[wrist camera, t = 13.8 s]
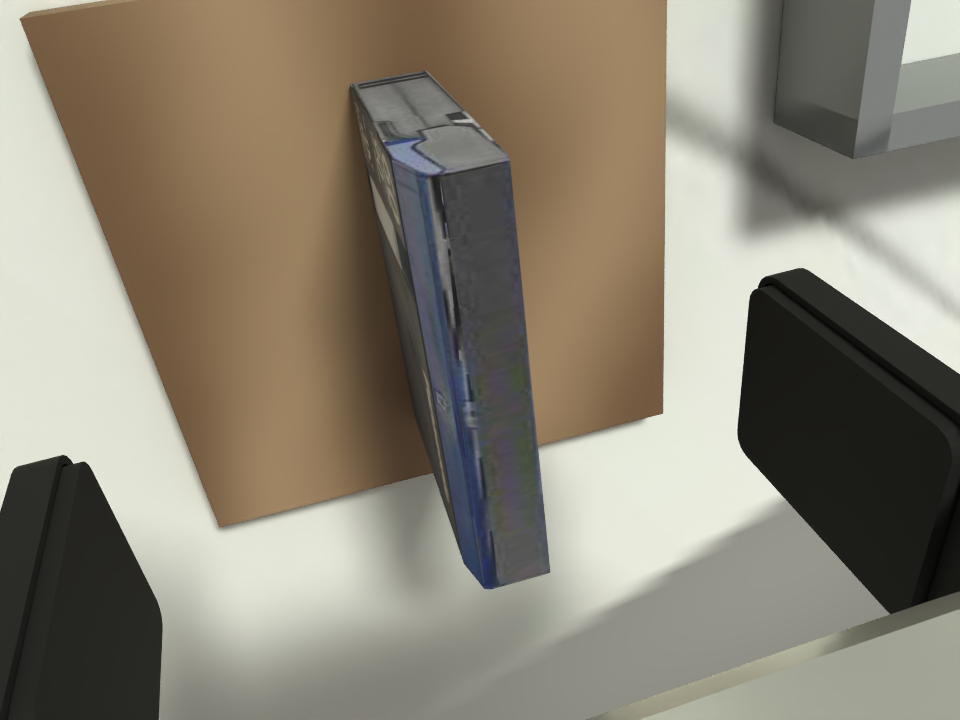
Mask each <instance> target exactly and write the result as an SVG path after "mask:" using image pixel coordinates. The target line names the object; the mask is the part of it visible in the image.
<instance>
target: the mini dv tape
mask: <svg viewBox="0 0 960 720" xmlns="http://www.w3.org/2000/svg"><path fill="white" fill-rule="evenodd" d="M350 89H351V94H352V99H353V104H354V109H355V115H356V120H357V125H358V130H359V135H360V140H361V145H362V150H363V155H364V160H365V165H366V170H367V176H368V181H369V186H370V191H371V196H372V201H373V206H374V211H375V216H376V221H377V226H378V231H379V237H380V242H381V247H382V252H383V257H384V262H385V267H386V272H387V277H388V282H389V287H390V292H391V298H392V303H393V308H394V313H395V318H396V323H397V328H398V333H399V338H400V343H401V348H402V353H403V358H404V364H405V369H406V374H407V379H408V384H409V389H410V394H411V399H412V404H413V409H414V414H415V419H416V422H417V425H418V428H419V431H420V434H421V437H422V440H423V443H424V446H425V449H426V452H427V455H428V458H429V461H430V464H431V467H432V470H433V473H434V476H435V479H436V482H437V485H438V488H439V491H440V494H441V497H442V500H443V503H444V506H445V508H446V511H447V514H448V517H449V520H450V523H451V526H452V529H453V532H454V535H455V538H456V541H457V544H458V547H459V550H460V553H461V556H462V559H463V562H464V564H465V565H466V567H467V568H468V569H469V570H470V571H471V573H472V574H473V575H474V576H475V578H476V579H477V580H478V581H479V582H480V584H481V585H482V586H483V587H484V589H494V588H498V587H501V586H505V585H508V584H512V583H515V582H519V581H522V580H526V579H529V578H533V577H536V576H540V575H544V574H547V573H550V565H549V555H548V545H547V535H546V524H545V514H544V504H543V494H542V483H541V473H540V463H539V453H538V442H537V432H536V422H535V412H534V401H533V391H532V381H531V371H530V361H529V350H528V340H527V330H526V320H525V309H524V299H523V289H522V279H521V268H520V258H519V248H518V238H517V227H516V217H515V207H514V197H513V187H512V176H511V166H510V159H509V156H508V154H507V152H506V151H505V150H504V149H503V148H502V147H501V146H500V145H499V144H498V143H497V142H496V141H495V140H494V139H493V138H492V137H491V136H490V135H489V134H488V133H487V132H486V131H485V130H484V129H483V128H482V127H481V126H480V125H479V124H478V123H477V122H476V121H475V120H474V119H473V118H472V117H471V116H470V115H469V114H468V113H467V112H466V111H465V110H464V109H463V108H462V107H461V106H460V105H459V103H458V102H457V101H456V100H455V99H454V98H453V97H452V96H451V95H450V94H449V93H448V92H447V91H446V90H445V89H444V88H443V87H442V86H441V85H440V84H439V83H438V82H437V81H436V80H435V79H434V78H433V77H432V76H431V75H430V74H429V73H428V72H427V71H420V72H414V73H409V74H403V75H398V76H392V77H386V78H381V79H375V80H370V81H364V82H358V83H353V84H350Z"/></svg>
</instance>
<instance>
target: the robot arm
mask: <svg viewBox="0 0 960 720" xmlns="http://www.w3.org/2000/svg"><path fill="white" fill-rule="evenodd" d="M737 431H738V440H739V443H740V446H741V448H742V450H743V452H744V453H745V455H746V456H747V457H748V458H749V459H750V461H751V462H752V463H753V464H754V465H755V466H756V467H757V468H758V469H759V470H760V472H761V473H762V474H763V475H764V476H765V477H766V478H767V479H768V480H769V481H770V483H771V484H772V485H773V486H774V487H775V488H776V489H777V490H778V491H779V493H780V494H781V495H782V496H783V497H784V498H785V499H786V500H787V501H788V502H789V504H790V505H791V506H792V507H793V508H794V509H795V510H796V511H797V512H798V513H799V515H800V516H801V517H802V518H803V519H804V520H805V521H806V522H807V523H808V524H809V526H810V527H811V528H812V529H813V530H814V531H815V532H816V533H817V534H818V535H819V537H820V538H821V539H822V540H823V541H824V542H825V543H826V544H827V545H828V546H829V547H830V549H831V550H832V551H833V552H834V553H835V554H836V555H837V556H838V557H839V559H840V560H841V561H842V562H843V563H844V564H845V565H846V566H847V567H848V568H849V570H851V572H852V573H853V574H854V575H855V576H856V577H857V578H858V580H859V581H860V582H862V584H863V585H864V586H865V587H866V588H867V589H868V591H869V592H870V593H871V594H872V595H873V596H874V597H875V598H876V599H877V600H878V602H879V603H880V604H881V605H882V606H883V607H884V608H885V609H886V610H887V611H888V612H889V613H890V615H888V616H885V617H882V618H879V619H876V620H873V621H870V622H867V623H864V624H861V625H858V626H855V627H852V628H850V629H847V630H844V631H841V632H838V633H835V634H832V635H829V636H826V637H823V638H820V639H817V640H815V641H812V642H809V643H806V644H803V645H800V646H797V647H794V648H791V649H788V650H785V651H782V652H780V653H777V654H774V655H771V656H768V657H765V658H762V659H759V660H756V661H753V662H750V663H748V664H745V665H742V666H739V667H736V668H733V669H730V670H727V671H725V672H722V673H719V674H716V675H713V676H710V677H707V678H704V679H702V680H699V681H696V682H693V683H690V684H687V685H684V686H681V687H679V688H676V689H673V690H670V691H667V692H664V693H661V694H659V695H656V696H653V697H650V698H647V699H644V700H641V701H638V702H636V703H633V704H630V705H627V706H624V707H621V708H619V709H616V710H613V711H610V712H607V713H604V714H601V715H598V716H596V717H593V718H590V719H587V720H960V374H959V373H957V372H956V371H954V370H953V369H951V368H950V367H948V366H947V365H945V364H944V363H943V362H941V361H940V360H938V359H937V358H935V357H934V356H932V355H931V354H929V353H928V352H927V351H925V350H924V349H922V348H921V347H919V346H918V345H916V344H915V343H913V342H912V341H910V340H909V339H908V338H906V337H905V336H903V335H902V334H900V333H899V332H897V331H896V330H894V329H893V328H892V327H890V326H889V325H887V324H886V323H884V322H883V321H881V320H880V319H878V318H877V317H876V316H874V315H873V314H871V313H870V312H868V311H867V310H865V309H864V308H862V307H861V306H859V305H858V304H857V303H855V302H854V301H852V300H851V299H849V298H848V297H846V296H845V295H843V294H842V293H841V292H839V291H838V290H836V289H835V288H833V287H832V286H830V285H829V284H827V283H826V282H825V281H823V280H822V279H820V278H819V277H817V276H816V275H814V274H813V273H811V272H810V271H808V270H806V269H804V268H798V269H794V270H790V271H786V272H782V273H778V274H774V275H770V276H766V277H764V278H763V279H762V280H761V281H760V283H759V286H758V289H755V290H754V291H753V292H752V293H751V295H750V300H749V310H748V321H747V331H746V342H745V353H744V364H743V375H742V386H741V397H740V408H739V419H738V430H737ZM161 652H162V617H161V612H160V608H159V605H158V602H157V600H156V598H155V596H154V594H153V592H152V590H151V588H150V586H149V584H148V582H147V580H146V578H145V576H144V574H143V572H142V570H141V568H140V566H139V564H138V562H137V560H136V558H135V556H134V554H133V552H132V550H131V548H130V546H129V544H128V542H127V540H126V538H125V536H124V534H123V532H122V530H121V528H120V526H119V524H118V522H117V520H116V518H115V516H114V514H113V512H112V510H111V508H110V506H109V504H108V502H107V499H106V497H105V495H104V493H103V491H102V489H101V487H100V485H99V483H98V481H97V479H96V477H95V475H94V473H93V471H92V470H91V468H90V466H89V465H88V464H87V463H86V462H80V463H76V464H73V463H72V461H71V460H70V459H69V458H68V457H67V456H65V455H61V456H57V457H53V458H49V459H45V460H41V461H37V462H33V463H30V464H26V465H22V466H18V467H16V468H15V469H14V470H13V472H12V474H11V477H10V481H9V484H8V487H7V491H6V494H5V498H4V501H3V504H2V508H1V511H0V720H158V719H159V697H160V674H161Z"/></svg>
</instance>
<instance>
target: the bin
mask: <svg viewBox="0 0 960 720" xmlns="http://www.w3.org/2000/svg"><path fill="white" fill-rule="evenodd" d="M910 4H911V0H784V6H783V19H782V31H781V43H780V56H779V68H778V80H777V93H776V105H775V117H774V123H775V124H777V125H780V126H782V127H784V128H786V129H788V130H791V131H793V132H795V133H797V134H799V135H801V136H804V137H806V138H808V139H810V140H812V141H815V142H817V143H819V144H821V145H823V146H826V147H828V148H830V149H832V150H834V151H837V152H839V153H841V154H843V155H845V156H848V157H850V158H852V159H856V158H861V157H865V156H870V155H875V154H879V153H884V152H889V151H894V150H898V149H903V148H908V147H912V146H917V145H922V144H926V143H931V142H936V141H940V140H945V139H950V138H954V137H959V136H960V53H959V54H954V55H949V56H944V57H939V58H934V59H929V60H923V61H918V62H913V63H908V64H903V65H901V61H902V54H903V48H904V42H905V36H906V29H907V23H908V17H909V11H910Z"/></svg>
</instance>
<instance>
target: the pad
mask: <svg viewBox="0 0 960 720" xmlns="http://www.w3.org/2000/svg"><path fill="white" fill-rule="evenodd" d="M20 21H21V23H22V26H23V29H24V31H25V34H26V36H27V39H28V41H29V44H30V46H31V49H32V51H33V54H34V57H35V59H36V62H37V64H38V67H39V69H40V72H41V74H42V77H43V79H44V82H45V85H46V87H47V90H48V92H49V95H50V97H51V100H52V102H53V105H54V107H55V110H56V113H57V115H58V118H59V120H60V123H61V125H62V128H63V130H64V133H65V135H66V138H67V141H68V143H69V146H70V148H71V151H72V153H73V156H74V158H75V161H76V163H77V166H78V169H79V171H80V174H81V176H82V179H83V181H84V184H85V186H86V189H87V191H88V194H89V197H90V199H91V202H92V204H93V207H94V209H95V212H96V214H97V217H98V219H99V222H100V225H101V227H102V230H103V232H104V235H105V237H106V240H107V242H108V245H109V247H110V250H111V253H112V255H113V258H114V260H115V263H116V265H117V268H118V270H119V273H120V275H121V278H122V281H123V283H124V286H125V288H126V291H127V293H128V296H129V298H130V301H131V303H132V306H133V309H134V311H135V314H136V316H137V319H138V321H139V324H140V326H141V329H142V331H143V334H144V337H145V339H146V342H147V344H148V347H149V349H150V352H151V354H152V357H153V359H154V362H155V365H156V367H157V370H158V372H159V375H160V377H161V380H162V382H163V385H164V387H165V390H166V393H167V395H168V398H169V400H170V403H171V405H172V408H173V410H174V413H175V415H176V418H177V421H178V423H179V426H180V428H181V431H182V433H183V436H184V438H185V441H186V443H187V446H188V449H189V451H190V454H191V456H192V459H193V461H194V464H195V466H196V469H197V471H198V474H199V477H200V479H201V482H202V484H203V487H204V489H205V492H206V494H207V497H208V499H209V502H210V505H211V507H212V510H213V512H214V515H215V517H216V520H217V522H218V525H219V527H224V526H227V525H231V524H235V523H239V522H243V521H247V520H251V519H255V518H259V517H262V516H266V515H270V514H274V513H278V512H282V511H286V510H290V509H294V508H297V507H301V506H305V505H309V504H313V503H317V502H321V501H325V500H329V499H332V498H336V497H340V496H344V495H348V494H352V493H356V492H360V491H364V490H367V489H371V488H375V487H379V486H383V485H387V484H391V483H395V482H399V481H402V480H406V479H410V478H414V477H418V476H422V475H426V474H430V473H433V470H432V467H431V464H430V461H429V458H428V455H427V452H426V449H425V446H424V443H423V440H422V437H421V434H420V431H419V428H418V425H417V422H416V419H415V414H414V409H413V404H412V399H411V394H410V389H409V384H408V379H407V374H406V369H405V364H404V358H403V353H402V348H401V343H400V338H399V333H398V328H397V323H396V318H395V313H394V308H393V303H392V298H391V292H390V287H389V282H388V277H387V272H386V267H385V262H384V257H383V252H382V247H381V242H380V237H379V231H378V226H377V221H376V216H375V211H374V206H373V201H372V196H371V191H370V186H369V181H368V176H367V170H366V165H365V160H364V155H363V150H362V145H361V140H360V135H359V130H358V125H357V120H356V115H355V109H354V104H353V99H352V94H351V89H350V84H353V83H358V82H364V81H370V80H375V79H381V78H386V77H392V76H398V75H403V74H409V73H414V72H420V71H427V72H428V73H429V74H430V75H431V76H432V77H433V78H434V79H435V80H436V81H437V82H438V83H439V84H440V85H441V86H442V87H443V88H444V89H445V90H446V91H447V92H448V93H449V94H450V95H451V96H452V97H453V98H454V99H455V100H456V101H457V102H458V103H459V105H460V106H461V107H462V108H463V109H464V110H465V111H466V112H467V113H468V114H469V115H470V116H471V117H472V118H473V119H474V120H475V121H476V122H477V123H478V124H479V125H480V126H481V127H482V128H483V129H484V130H485V131H486V132H487V133H488V134H489V135H490V136H491V137H492V138H493V139H494V140H495V141H496V142H497V143H498V144H499V145H500V146H501V147H502V148H503V149H504V150H505V151H506V152H507V154H508V156H509V159H510V166H511V176H512V187H513V197H514V207H515V217H516V227H517V238H518V248H519V258H520V268H521V279H522V289H523V299H524V309H525V320H526V330H527V340H528V350H529V361H530V371H531V381H532V391H533V401H534V412H535V422H536V432H537V442H538V446H539V445H543V444H546V443H550V442H554V441H558V440H562V439H566V438H570V437H574V436H578V435H581V434H585V433H589V432H593V431H597V430H601V429H605V428H609V427H613V426H616V425H620V424H624V423H628V422H632V421H636V420H640V419H644V418H648V417H652V416H655V415H659V414H663V361H664V251H665V140H666V29H667V0H106V1H99V2H93V3H86V4H80V5H73V6H67V7H60V8H54V9H47V10H41V11H35V12H29V13H28V14H26V15H25V16H23V17H22V18H20Z"/></svg>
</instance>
